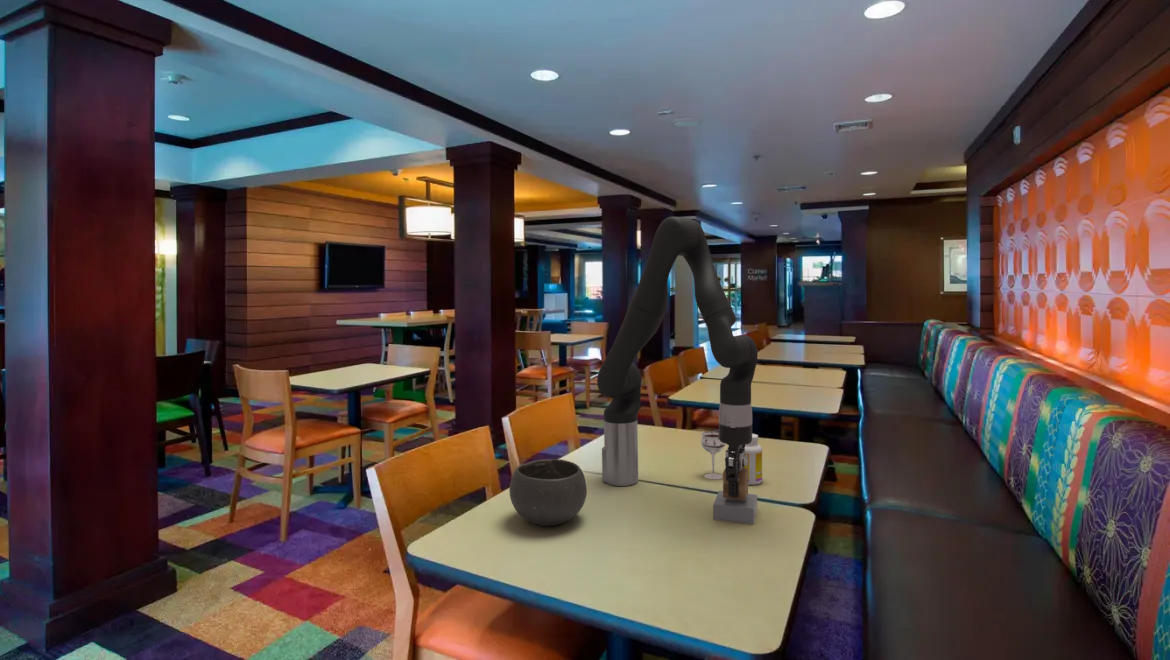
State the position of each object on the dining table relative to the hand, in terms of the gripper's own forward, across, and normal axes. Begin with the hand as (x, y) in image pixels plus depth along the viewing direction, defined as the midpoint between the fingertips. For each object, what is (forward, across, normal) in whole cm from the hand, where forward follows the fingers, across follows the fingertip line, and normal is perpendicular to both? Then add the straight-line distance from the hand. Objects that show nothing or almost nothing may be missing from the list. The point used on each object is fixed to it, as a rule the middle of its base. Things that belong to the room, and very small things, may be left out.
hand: (735, 492), depth 140 cm
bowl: (+6, +18, -40) cm, 44 cm away
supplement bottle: (+6, -24, 0) cm, 25 cm away
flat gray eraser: (+6, 0, 0) cm, 6 cm away
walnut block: (+1, 0, 0) cm, 1 cm away
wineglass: (+6, -25, -10) cm, 27 cm away
